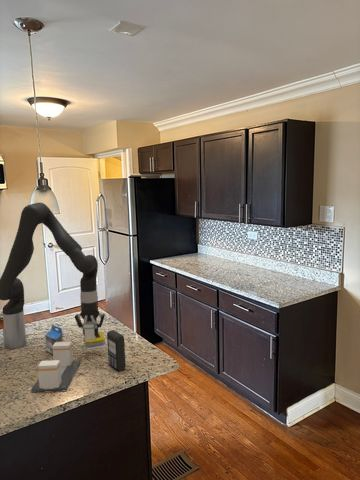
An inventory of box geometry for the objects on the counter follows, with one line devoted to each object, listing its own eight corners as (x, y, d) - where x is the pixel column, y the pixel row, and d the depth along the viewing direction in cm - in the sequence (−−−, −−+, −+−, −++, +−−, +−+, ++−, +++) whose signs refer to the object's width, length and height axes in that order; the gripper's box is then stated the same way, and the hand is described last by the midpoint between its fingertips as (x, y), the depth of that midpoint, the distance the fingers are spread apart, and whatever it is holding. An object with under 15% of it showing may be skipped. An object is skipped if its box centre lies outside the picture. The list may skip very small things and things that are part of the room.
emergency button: (101, 327, 185) (105, 338, 171) (101, 335, 185) (106, 347, 172) (82, 330, 182) (86, 342, 168) (83, 338, 182) (86, 351, 168)
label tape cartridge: (46, 351, 168) (43, 326, 166) (53, 348, 171) (51, 324, 169) (56, 357, 162) (54, 331, 160) (64, 353, 165) (62, 328, 163)
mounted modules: (39, 388, 134) (37, 366, 133) (56, 361, 155) (55, 342, 154) (58, 387, 134) (56, 365, 133) (73, 360, 155) (71, 341, 154)
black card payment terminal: (107, 364, 154) (105, 331, 151) (115, 361, 156) (113, 328, 154) (118, 372, 147) (116, 338, 144) (126, 369, 149) (124, 335, 147)
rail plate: (31, 392, 134) (31, 389, 133) (50, 364, 155) (50, 361, 155) (66, 391, 134) (66, 388, 134) (80, 362, 156) (80, 360, 156)
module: (84, 340, 160) (84, 325, 159) (87, 334, 166) (87, 320, 165) (94, 340, 160) (93, 325, 159) (96, 334, 166) (96, 320, 165)
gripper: (71, 302, 156) (73, 339, 159) (103, 302, 157) (105, 338, 160) (75, 297, 164) (77, 332, 166) (106, 296, 164) (107, 332, 167)
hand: (90, 335), depth 163 cm, fingers closed on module, 4 cm apart
